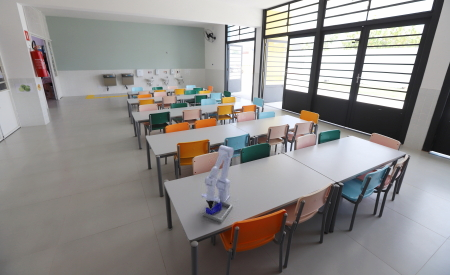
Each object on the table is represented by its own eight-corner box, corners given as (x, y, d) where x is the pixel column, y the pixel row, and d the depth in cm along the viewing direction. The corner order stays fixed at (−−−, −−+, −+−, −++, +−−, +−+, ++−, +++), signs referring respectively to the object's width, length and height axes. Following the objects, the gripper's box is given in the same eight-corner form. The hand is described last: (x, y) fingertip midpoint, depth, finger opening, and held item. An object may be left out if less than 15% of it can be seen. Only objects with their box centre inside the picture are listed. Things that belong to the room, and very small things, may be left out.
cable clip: (217, 206, 167) (217, 200, 165) (221, 209, 164) (221, 203, 162) (204, 213, 160) (204, 206, 157) (208, 216, 156) (208, 210, 154)
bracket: (215, 201, 172) (215, 199, 171) (232, 207, 166) (232, 204, 165) (203, 215, 157) (203, 213, 156) (221, 222, 151) (221, 219, 150)
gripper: (199, 192, 158) (199, 207, 163) (216, 197, 152) (216, 213, 157) (204, 187, 164) (204, 202, 169) (221, 192, 158) (221, 208, 163)
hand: (210, 207), depth 164 cm, fingers closed
